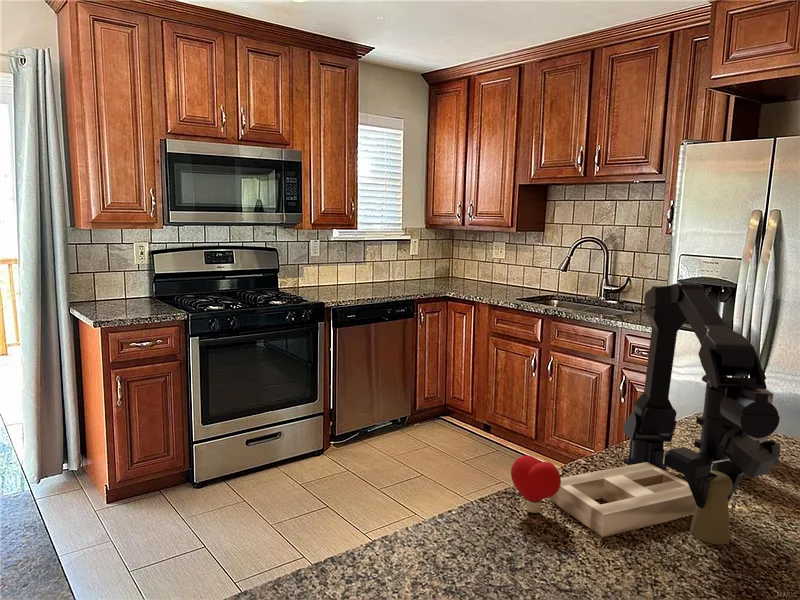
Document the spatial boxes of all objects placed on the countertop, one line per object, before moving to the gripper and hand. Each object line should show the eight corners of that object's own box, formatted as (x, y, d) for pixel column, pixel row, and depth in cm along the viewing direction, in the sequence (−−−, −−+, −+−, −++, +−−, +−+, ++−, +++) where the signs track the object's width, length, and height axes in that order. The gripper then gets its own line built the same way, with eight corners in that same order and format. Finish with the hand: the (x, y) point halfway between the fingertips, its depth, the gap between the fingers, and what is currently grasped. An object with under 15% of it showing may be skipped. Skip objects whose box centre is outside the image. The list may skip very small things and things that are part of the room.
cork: (714, 547, 97) (721, 484, 96) (682, 530, 103) (688, 469, 101) (737, 539, 100) (744, 477, 99) (704, 522, 105) (711, 463, 104)
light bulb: (566, 515, 107) (569, 462, 105) (546, 529, 101) (550, 474, 100) (521, 497, 113) (524, 447, 111) (500, 510, 108) (503, 457, 106)
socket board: (549, 499, 112) (551, 479, 112) (645, 480, 122) (646, 462, 121) (602, 537, 100) (604, 514, 99) (704, 512, 109) (706, 491, 109)
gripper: (726, 439, 87) (715, 538, 90) (808, 425, 95) (796, 517, 97) (665, 415, 97) (657, 505, 100) (743, 404, 105) (734, 487, 107)
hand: (712, 504), depth 101 cm, fingers open, 6 cm apart
